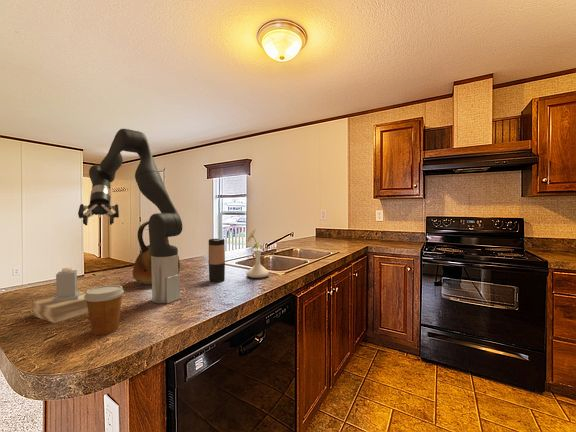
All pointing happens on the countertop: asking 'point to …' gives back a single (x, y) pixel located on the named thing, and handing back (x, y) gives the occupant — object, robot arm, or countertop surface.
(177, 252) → the robot arm
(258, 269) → the flower in vase
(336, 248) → the countertop surface
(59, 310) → the birch block
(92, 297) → the disposable coffee cup
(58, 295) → the grey box with knob
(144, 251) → the ceramic pitcher
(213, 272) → the travel mug
